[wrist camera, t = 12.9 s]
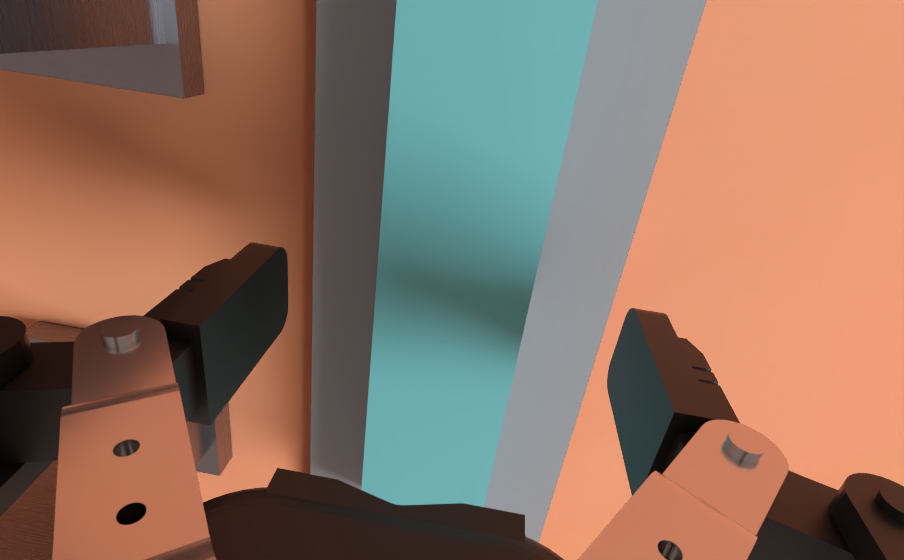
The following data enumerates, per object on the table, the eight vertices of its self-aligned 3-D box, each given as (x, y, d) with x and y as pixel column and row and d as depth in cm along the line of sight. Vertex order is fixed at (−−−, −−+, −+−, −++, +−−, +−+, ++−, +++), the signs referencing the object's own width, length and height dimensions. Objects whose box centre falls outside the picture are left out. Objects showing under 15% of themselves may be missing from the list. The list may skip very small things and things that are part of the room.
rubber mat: (333, -276, 11) (320, -296, 10) (763, -222, 11) (780, -239, 10) (316, 490, 22) (309, 506, 21) (535, 532, 21) (536, 549, 20)
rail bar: (445, -180, 11) (415, -260, 8) (612, -159, 11) (649, -232, 8) (380, 493, 20) (354, 580, 17) (471, 510, 20) (462, 601, 17)
